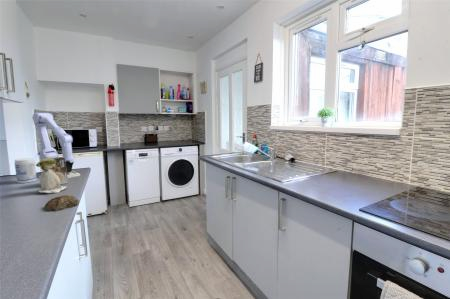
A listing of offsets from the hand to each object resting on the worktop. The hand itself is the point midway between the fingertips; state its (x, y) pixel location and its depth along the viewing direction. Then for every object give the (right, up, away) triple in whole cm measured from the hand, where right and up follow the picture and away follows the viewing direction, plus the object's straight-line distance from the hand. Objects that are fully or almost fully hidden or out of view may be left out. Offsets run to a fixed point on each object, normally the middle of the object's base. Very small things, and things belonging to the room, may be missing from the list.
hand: (69, 171), depth 160 cm
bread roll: (+35, -11, -56) cm, 67 cm away
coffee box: (+7, -6, -21) cm, 23 cm away
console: (-1, -3, -2) cm, 4 cm away
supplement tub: (-17, -5, -15) cm, 23 cm away
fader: (-2, -1, +2) cm, 3 cm away
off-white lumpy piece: (+14, -8, -34) cm, 38 cm away
